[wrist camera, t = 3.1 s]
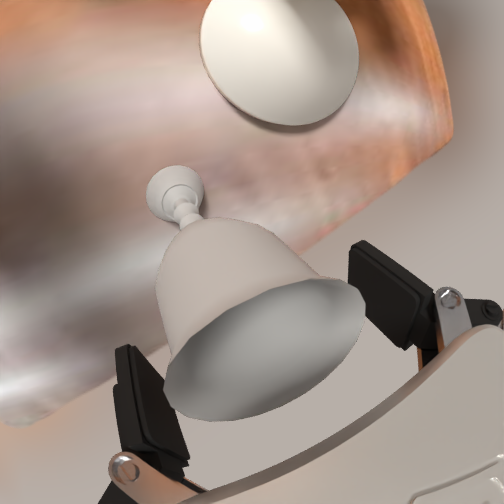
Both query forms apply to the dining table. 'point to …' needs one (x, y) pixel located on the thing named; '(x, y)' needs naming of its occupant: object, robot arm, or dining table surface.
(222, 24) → the plate
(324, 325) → the chalice
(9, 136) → the dining table surface
